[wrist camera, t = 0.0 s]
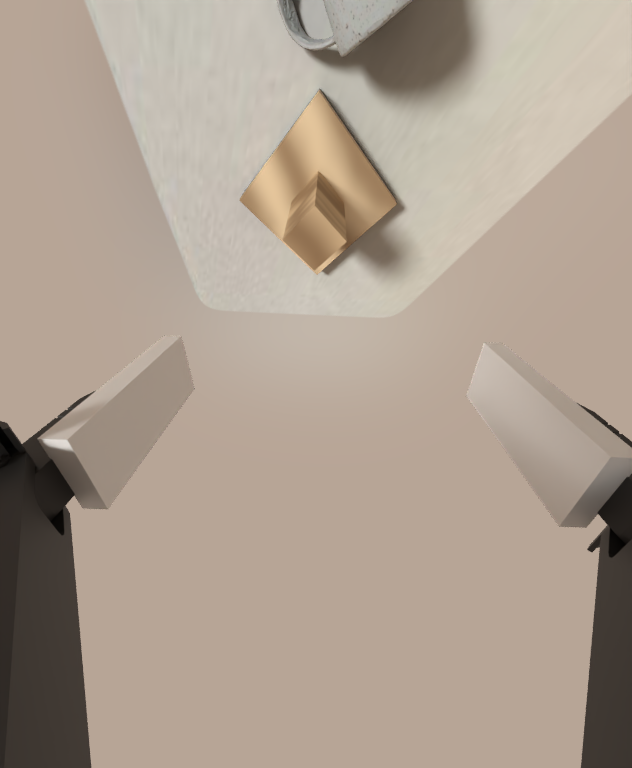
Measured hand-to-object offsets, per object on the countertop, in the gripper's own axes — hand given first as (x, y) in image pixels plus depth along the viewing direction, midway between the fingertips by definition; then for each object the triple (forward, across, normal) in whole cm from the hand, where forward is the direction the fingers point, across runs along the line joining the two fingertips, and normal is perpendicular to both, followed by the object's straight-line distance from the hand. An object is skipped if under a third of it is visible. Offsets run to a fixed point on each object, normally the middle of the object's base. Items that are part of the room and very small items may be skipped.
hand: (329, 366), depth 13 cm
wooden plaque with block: (+27, -1, +7) cm, 27 cm away
